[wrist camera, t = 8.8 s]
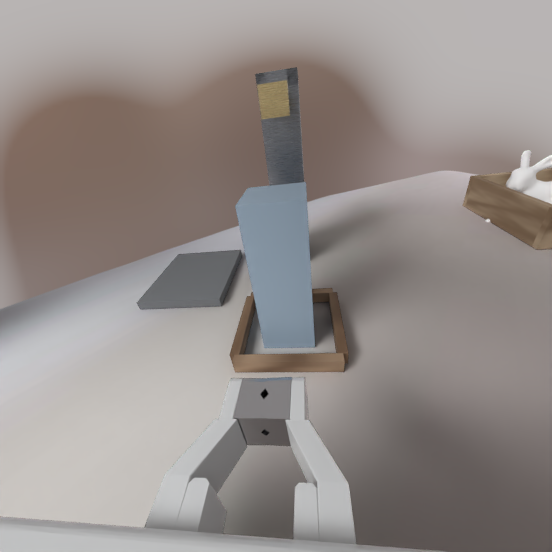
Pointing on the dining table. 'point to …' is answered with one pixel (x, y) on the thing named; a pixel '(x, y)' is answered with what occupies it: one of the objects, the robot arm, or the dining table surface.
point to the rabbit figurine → (531, 179)
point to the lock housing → (283, 133)
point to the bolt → (274, 99)
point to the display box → (512, 208)
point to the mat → (193, 281)
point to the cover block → (279, 262)
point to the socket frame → (291, 361)
